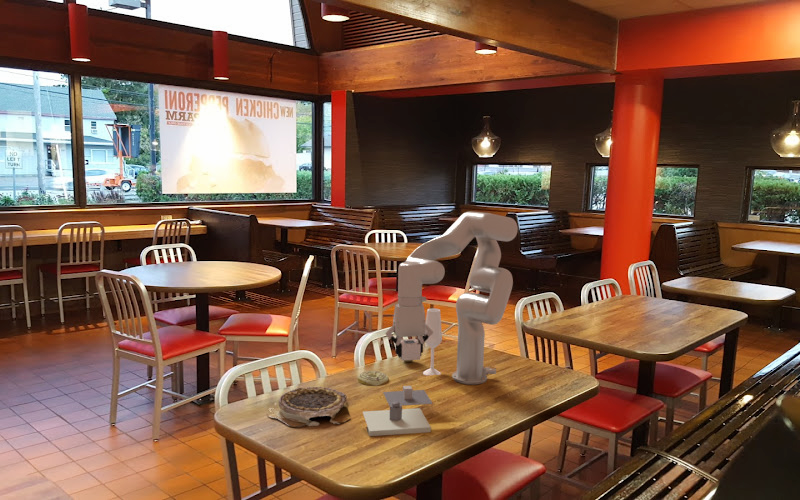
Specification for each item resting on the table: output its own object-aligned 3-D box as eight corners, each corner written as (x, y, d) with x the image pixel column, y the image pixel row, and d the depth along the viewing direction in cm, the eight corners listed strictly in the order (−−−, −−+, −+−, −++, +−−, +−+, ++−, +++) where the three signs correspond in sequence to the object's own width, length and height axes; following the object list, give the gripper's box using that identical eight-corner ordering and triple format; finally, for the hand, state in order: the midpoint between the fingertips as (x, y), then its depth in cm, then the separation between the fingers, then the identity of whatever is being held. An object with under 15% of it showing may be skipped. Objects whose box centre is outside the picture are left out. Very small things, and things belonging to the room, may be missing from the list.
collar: (416, 353, 201) (416, 338, 200) (420, 359, 195) (420, 344, 194) (398, 354, 200) (398, 339, 199) (401, 360, 194) (402, 345, 193)
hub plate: (419, 412, 191) (420, 392, 190) (430, 432, 178) (431, 410, 177) (362, 416, 187) (362, 395, 187) (369, 436, 174) (369, 414, 173)
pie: (251, 408, 192) (251, 393, 192) (321, 389, 211) (321, 375, 211) (304, 438, 172) (304, 421, 172) (376, 414, 192) (376, 398, 191)
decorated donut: (379, 392, 208) (379, 381, 208) (352, 386, 213) (352, 376, 212) (393, 382, 217) (393, 372, 217) (366, 377, 222) (366, 367, 221)
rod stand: (423, 394, 207) (424, 379, 206) (432, 408, 195) (433, 393, 194) (382, 396, 204) (383, 381, 203) (389, 410, 192) (389, 395, 191)
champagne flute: (419, 371, 229) (421, 308, 226) (435, 369, 232) (437, 307, 229) (428, 377, 223) (429, 312, 220) (444, 374, 226) (446, 311, 223)
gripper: (433, 297, 200) (432, 350, 203) (381, 299, 197) (380, 353, 199) (439, 302, 193) (438, 357, 196) (385, 304, 189) (384, 360, 192)
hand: (409, 355), depth 197 cm, fingers closed on collar, 6 cm apart
